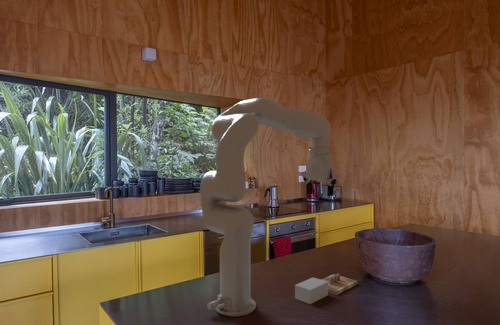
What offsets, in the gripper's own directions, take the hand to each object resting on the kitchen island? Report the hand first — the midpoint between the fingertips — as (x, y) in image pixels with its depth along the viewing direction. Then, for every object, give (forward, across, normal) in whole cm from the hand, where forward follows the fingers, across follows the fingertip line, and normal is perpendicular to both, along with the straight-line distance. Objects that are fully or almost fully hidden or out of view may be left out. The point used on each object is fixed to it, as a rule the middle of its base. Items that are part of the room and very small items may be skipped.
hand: (319, 194), depth 138 cm
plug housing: (+31, +12, -22) cm, 40 cm away
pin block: (+31, +12, -8) cm, 34 cm away
